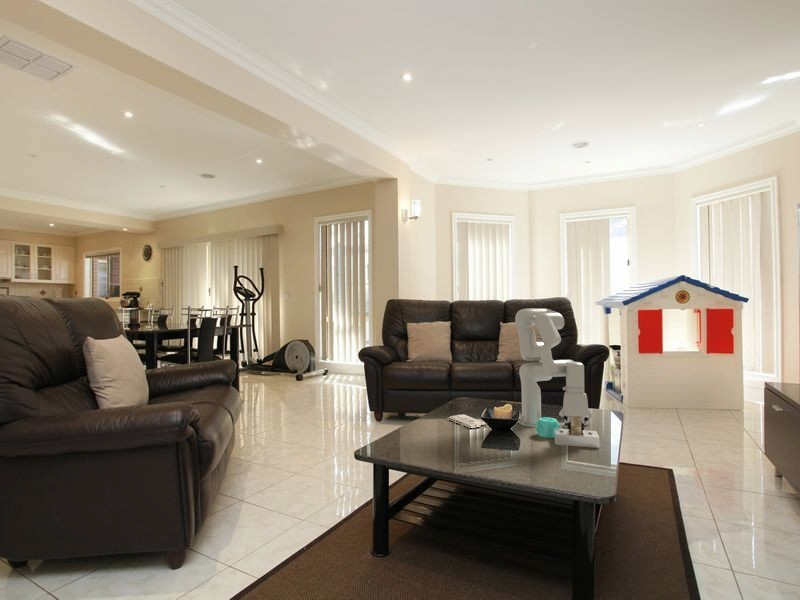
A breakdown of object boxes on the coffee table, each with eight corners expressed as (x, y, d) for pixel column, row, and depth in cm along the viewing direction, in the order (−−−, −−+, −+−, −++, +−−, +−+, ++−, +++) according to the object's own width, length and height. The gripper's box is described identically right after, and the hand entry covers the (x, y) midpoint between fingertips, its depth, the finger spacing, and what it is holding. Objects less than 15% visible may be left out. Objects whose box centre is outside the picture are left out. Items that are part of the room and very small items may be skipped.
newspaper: (445, 421, 238) (445, 416, 238) (465, 418, 243) (465, 414, 243) (468, 432, 217) (468, 427, 217) (489, 429, 222) (488, 424, 222)
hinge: (580, 421, 216) (560, 417, 222) (580, 430, 216) (560, 427, 222) (592, 414, 228) (572, 411, 235) (592, 423, 228) (573, 420, 235)
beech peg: (571, 438, 194) (570, 415, 195) (570, 435, 198) (570, 413, 199) (581, 439, 193) (581, 416, 193) (580, 436, 197) (580, 413, 197)
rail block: (555, 445, 194) (554, 433, 194) (554, 439, 203) (553, 427, 203) (599, 449, 188) (599, 436, 188) (596, 442, 198) (596, 430, 198)
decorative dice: (547, 439, 202) (546, 422, 202) (535, 435, 210) (535, 418, 210) (560, 437, 205) (560, 420, 205) (549, 433, 213) (548, 416, 213)
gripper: (555, 390, 195) (556, 432, 195) (596, 392, 190) (597, 435, 190) (554, 387, 202) (555, 427, 202) (594, 389, 197) (595, 430, 197)
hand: (575, 430), depth 196 cm, fingers closed on beech peg, 4 cm apart
